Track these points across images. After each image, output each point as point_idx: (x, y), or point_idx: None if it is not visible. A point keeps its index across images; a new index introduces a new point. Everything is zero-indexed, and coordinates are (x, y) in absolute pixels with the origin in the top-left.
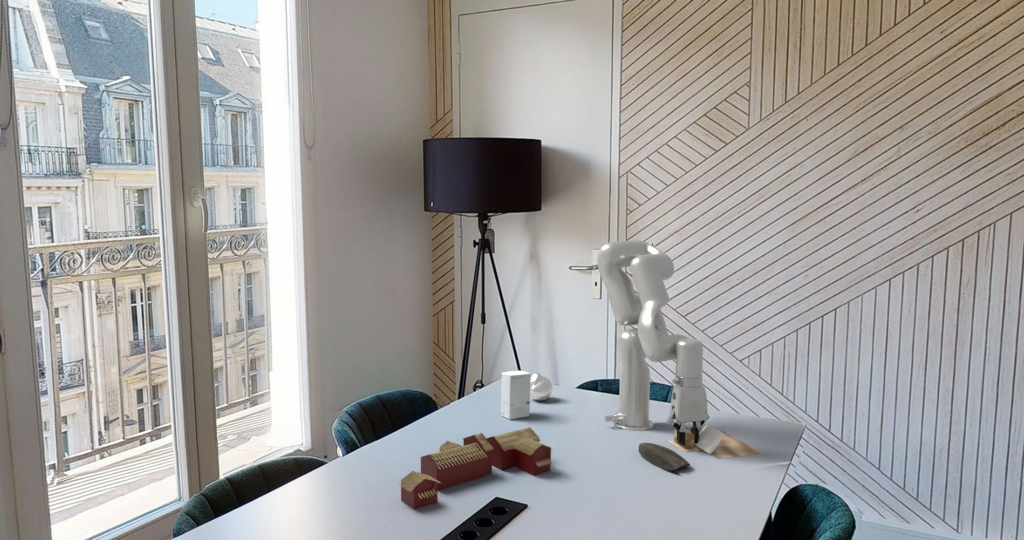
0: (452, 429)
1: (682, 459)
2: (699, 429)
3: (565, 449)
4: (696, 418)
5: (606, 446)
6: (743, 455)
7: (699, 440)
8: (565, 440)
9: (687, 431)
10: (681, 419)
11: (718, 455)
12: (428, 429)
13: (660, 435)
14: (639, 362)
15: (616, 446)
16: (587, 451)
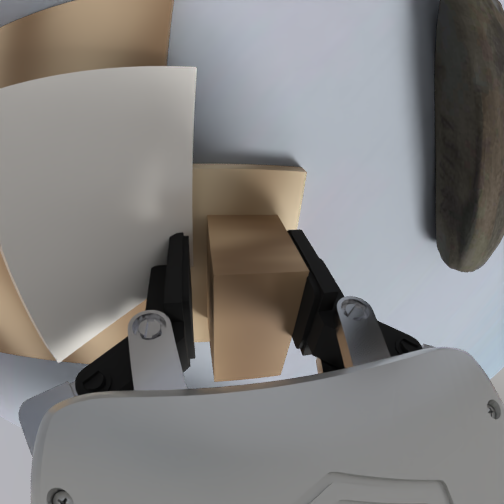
0: (488, 373)
1: (489, 19)
2: (146, 317)
3: (501, 306)
4: (256, 424)
5: (454, 315)
6: None
7: (158, 244)
8: (464, 349)
9: (228, 337)
10: (467, 368)
11: (127, 37)
12: (496, 370)
13: (245, 381)
14: None
15: (441, 313)
16: (496, 291)
